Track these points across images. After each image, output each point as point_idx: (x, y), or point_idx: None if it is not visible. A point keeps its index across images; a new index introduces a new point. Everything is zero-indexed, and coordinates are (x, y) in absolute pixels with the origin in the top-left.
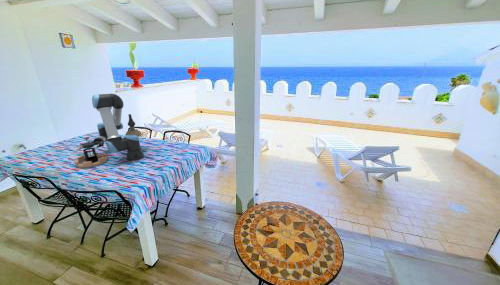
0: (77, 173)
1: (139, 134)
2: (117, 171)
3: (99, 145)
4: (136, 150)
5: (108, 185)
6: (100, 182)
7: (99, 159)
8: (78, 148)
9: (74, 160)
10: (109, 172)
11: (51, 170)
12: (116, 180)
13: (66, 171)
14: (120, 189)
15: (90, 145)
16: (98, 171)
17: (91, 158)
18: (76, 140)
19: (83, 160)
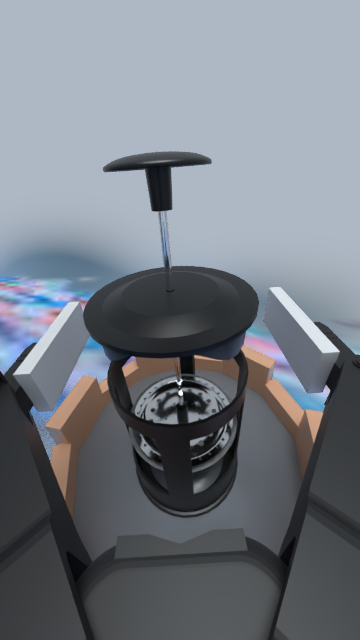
0: None
1: None
2: (5, 339)
3: (13, 369)
4: None
5: (45, 285)
6: (68, 292)
7: (86, 377)
8: (269, 300)
9: (272, 360)
10: (41, 333)
11: (351, 347)
12: (20, 299)
13: (251, 339)
14: (17, 278)
15: (115, 281)
16: (91, 339)
17: (219, 491)
18: None
19: (297, 480)
